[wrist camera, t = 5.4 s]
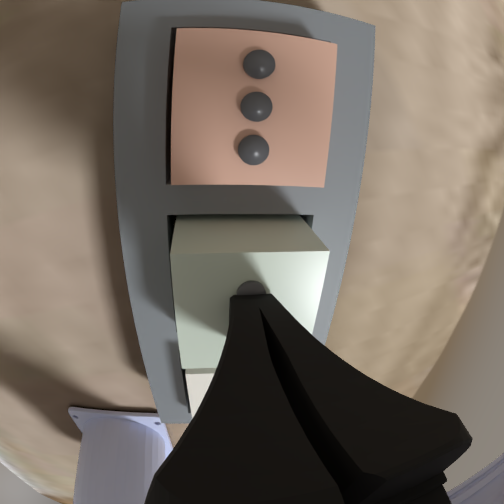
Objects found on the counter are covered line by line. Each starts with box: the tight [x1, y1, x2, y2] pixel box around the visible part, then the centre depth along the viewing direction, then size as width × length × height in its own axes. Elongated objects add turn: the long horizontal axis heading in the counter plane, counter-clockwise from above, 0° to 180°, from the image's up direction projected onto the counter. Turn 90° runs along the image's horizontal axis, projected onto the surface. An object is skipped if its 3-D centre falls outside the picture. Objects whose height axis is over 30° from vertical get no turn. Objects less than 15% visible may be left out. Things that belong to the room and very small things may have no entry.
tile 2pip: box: [170, 214, 330, 369], centre depth 12 cm, size 5×5×4 cm
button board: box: [113, 0, 375, 423], centre depth 13 cm, size 21×9×3 cm, turn 176°
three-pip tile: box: [171, 28, 337, 188], centre depth 10 cm, size 5×5×4 cm
